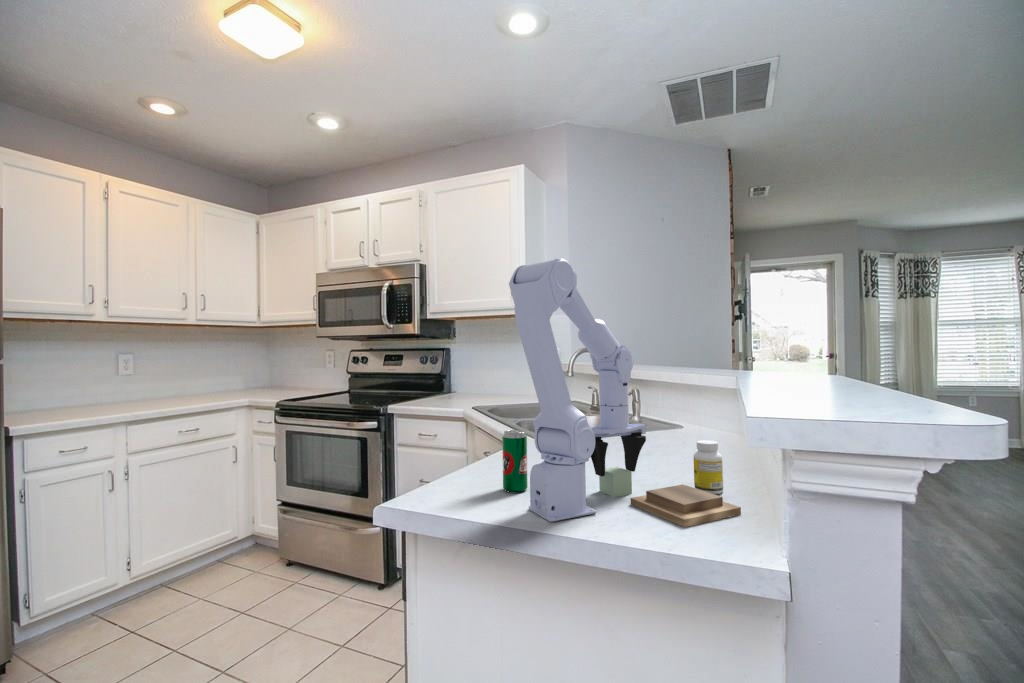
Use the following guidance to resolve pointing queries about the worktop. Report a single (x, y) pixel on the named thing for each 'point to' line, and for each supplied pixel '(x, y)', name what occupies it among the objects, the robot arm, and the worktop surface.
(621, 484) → the sage block
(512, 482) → the soda can
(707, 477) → the supplement bottle
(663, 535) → the worktop surface
